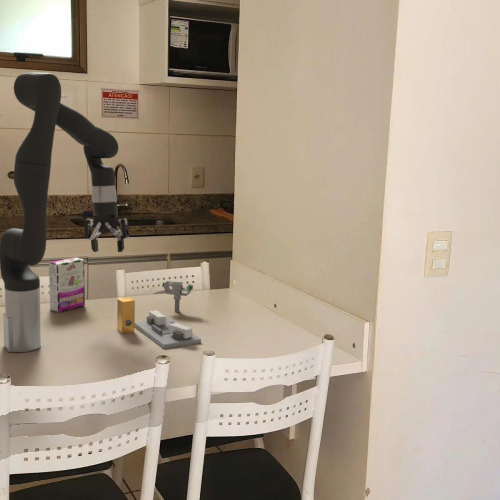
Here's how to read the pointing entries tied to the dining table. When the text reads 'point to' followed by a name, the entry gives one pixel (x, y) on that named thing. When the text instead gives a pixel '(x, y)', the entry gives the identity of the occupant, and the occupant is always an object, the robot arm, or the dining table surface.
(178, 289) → the mechanical component
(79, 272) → the candy bar box
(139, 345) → the dining table surface
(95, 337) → the dining table surface
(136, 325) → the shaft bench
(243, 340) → the dining table surface
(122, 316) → the block
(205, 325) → the dining table surface
